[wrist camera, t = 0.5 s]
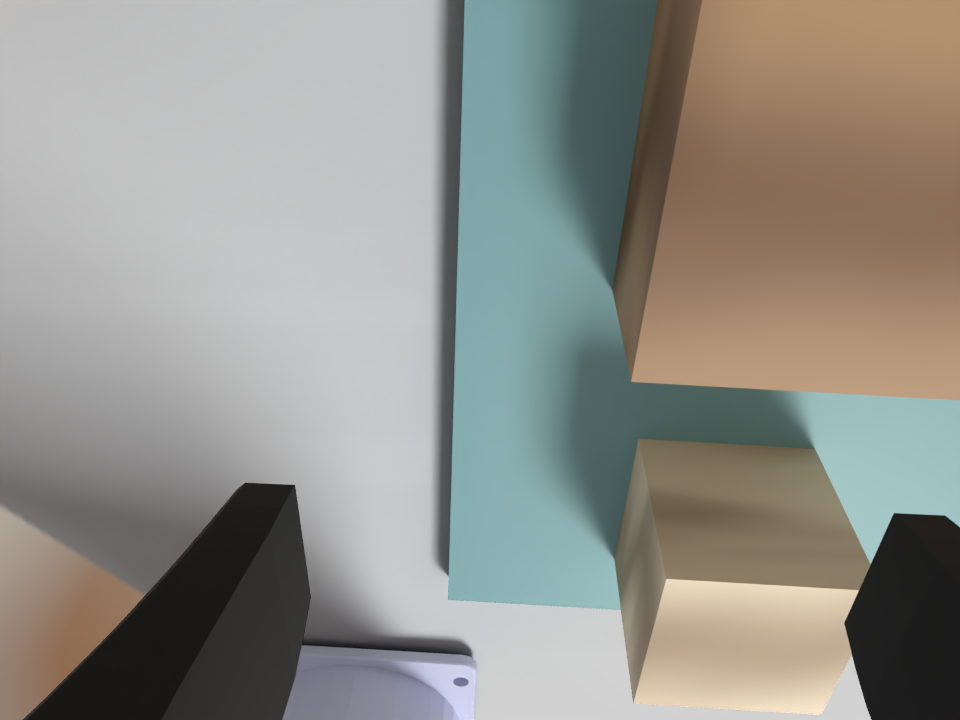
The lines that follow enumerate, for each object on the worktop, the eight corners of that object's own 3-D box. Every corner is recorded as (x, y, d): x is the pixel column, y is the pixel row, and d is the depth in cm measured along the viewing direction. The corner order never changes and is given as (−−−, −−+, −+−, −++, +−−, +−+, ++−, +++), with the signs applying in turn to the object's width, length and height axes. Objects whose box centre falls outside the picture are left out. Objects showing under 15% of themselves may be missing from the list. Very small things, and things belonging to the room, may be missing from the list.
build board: (898, 605, 24) (908, 626, 24) (449, 578, 24) (448, 599, 24) (1273, -101, 14) (1312, -97, 13) (470, -142, 14) (468, -140, 13)
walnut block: (924, 307, 17) (1006, 402, 15) (612, 290, 18) (631, 382, 15) (1071, -41, 14) (1222, -5, 11) (667, -62, 14) (707, -32, 11)
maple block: (770, 567, 22) (821, 714, 19) (614, 558, 22) (633, 703, 19) (814, 448, 20) (883, 591, 16) (638, 439, 20) (665, 578, 16)
